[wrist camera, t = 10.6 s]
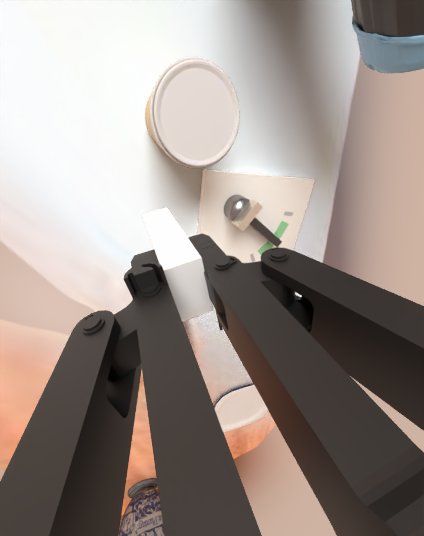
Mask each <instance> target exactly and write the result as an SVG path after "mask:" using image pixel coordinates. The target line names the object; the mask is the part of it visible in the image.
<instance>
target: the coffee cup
mask: <svg viewBox="0 0 424 536" xmlns="http://www.w3.org/2000/svg"><path fill="white" fill-rule="evenodd" d="M239 119H240V111H239V103H238V99H237V95H236V92H235V90H234V87H233V85H232V83H231V82H230V80H229V78H228V77H227V76H226V74H225V73H224V72H223V71H222V70H221V69H220V68H219V67H218V66H217V65H215V64H214V63H212V62H210V61H208V60H206V59H203V58H198V57H189V58H183V59H180V60H178V61H175V62H174V63H172V64H171V65H169V66H168V67H167V68H166V69H165V70H164V71H163V72H162V73H161V75H160V76H159V78H158V80H157V81H156V83H155V86H154V88H153V91H152V93H151V95H150V97H149V99H148V102H147V105H146V110H145V120H146V125H147V129H148V131H149V133H150V135H151V137H152V138H153V140H154V141H155V142H156V143H157V144H158V145H159V146H160V147H161V148H162V149H163V151H164V152H165V153H166V154H167V155H168V156H169V157H170V158H171V159H172V160H174V161H175V162H176V163H178V164H180V165H183V166H185V167H189V168H204V167H208V166H211V165H213V164H215V163H217V162H218V161H219V160H221V159H222V158H223V157H224V156H225V155H226V154H227V152H228V151H229V150H230V148H231V147H232V145H233V143H234V140H235V138H236V135H237V132H238V127H239Z"/></svg>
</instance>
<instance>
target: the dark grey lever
mask: <svg viewBox="0 0 424 536" xmlns="http://www.w3.org/2000/svg"><path fill="white" fill-rule="evenodd" d="M262 208H263V207H262V206H261V205H260V204H259V203H258V202H257V201H255V200H253V199H250V200H249V199H247V198H245V197H243V196H241V195H233V196H231V197H229V198H228V199H227V201H226V202H225V205H224V213H225V215H226V217H227V218H229V219H230V220H231V221H232V223H233V224H234V225H236V226H237V227H238V228H239V229H241V230H242V231H244V230H245V229H246V228H247V226H248V225H250V226H251V227H253V228H254V229H255V230H256V231H257V232H258V233H260V234H261V235H262V236H263V237H264V238H266V239H267V240H268V241H269V242H270V243H272V244H273V245H275V246H276V247H278V246H279V245H280V244H281V243H282V241H281V240H280V239H279V238H278V237H276V236H275V235H274V234H273V233H272V232H271V231H270V230H269V229H268V228H266V227H265V226H264V225H263V224H262V223H261V222H260V221H259V220H258V219H256V218H255V216H256V215H257V214H258V213H259V212H260V210H261V209H262Z"/></svg>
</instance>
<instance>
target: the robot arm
mask: <svg viewBox="0 0 424 536" xmlns="http://www.w3.org/2000/svg"><path fill="white" fill-rule="evenodd" d="M351 2H352V10H353V19H352V24H353V29H354V30H355V32H356V34H357V38H358V43H359V48H360V54H361V58H362V60H363V62H364V64H365V65H366V66H367V67H369V68H370V69H373V70H376V71H378V72H381V73H403V72H410V71H415V70H420V69H423V68H424V0H351ZM142 216H143V219H144V221H145V224H146V227H147V230H148V233H149V236H150V238H151V241H152V244H153V247H154V250H151V251H148V252H145V253H141V254H138V255H135V256H134V257H133V259H132V261H131V266H132V268H131V269H130V270H128V271H127V273H126V274H125V276H124V281H125V283H126V285H127V287H128V289H129V291H130V293H131V295H132V297H133V301H132V302H131V303H130V304H129V305H128V306H127V307H126V308H124V309H123V310H121V311H119V312H118V313H116V314H114V315H113V314H112V312H110V311H106V310H105V311H97V312H94V313H91V314H90V315H88V316H87V317H85V318H83V319H82V320H81V321H80V322H79V323H78V324H77V325H76V326H75V328H74V329H73V331H72V333H71V335H70V337H69V339H68V341H67V343H66V346H65V348H64V350H63V352H62V354H61V356H60V358H59V360H58V362H57V364H56V366H55V369H54V371H53V373H52V375H51V377H50V379H49V381H48V383H47V385H46V387H45V389H44V392H43V394H42V396H41V398H40V400H39V402H38V404H37V406H36V408H35V410H34V412H33V414H32V417H31V419H30V421H29V423H28V425H27V427H26V429H25V431H24V433H23V435H22V437H21V440H20V442H19V444H18V446H17V448H16V450H15V452H14V454H13V456H12V458H11V460H10V463H9V465H8V467H7V469H6V471H5V473H4V475H3V477H2V480H1V481H0V536H118V534H119V527H120V520H121V513H122V505H123V498H124V491H125V484H126V477H127V469H128V462H129V455H130V448H131V441H132V434H133V426H134V419H135V412H136V405H137V398H138V390H139V383H140V376H141V369H142V372H143V379H144V387H145V394H146V402H147V409H148V417H149V424H150V431H151V439H152V446H153V454H154V461H155V469H156V476H157V484H158V491H159V498H160V506H161V513H162V521H163V528H164V536H261V533H260V530H259V527H258V525H257V522H256V519H255V517H254V514H253V511H252V509H251V506H250V503H249V501H248V498H247V495H246V493H245V490H244V487H243V484H242V482H241V479H240V476H239V474H238V471H237V468H236V466H235V463H234V460H233V457H232V455H231V452H230V449H229V447H228V444H227V441H226V439H225V436H224V433H223V430H222V428H221V425H220V422H219V420H218V417H217V414H216V412H215V409H214V406H213V403H212V401H211V398H210V395H209V393H208V390H207V387H206V385H205V382H204V379H203V376H202V374H201V371H200V368H199V366H198V363H197V360H196V358H195V355H194V352H193V350H192V347H191V344H190V341H189V339H188V336H187V333H186V331H185V328H184V325H183V323H182V322H184V321H187V320H189V319H192V318H194V317H197V316H199V315H202V314H204V313H207V312H209V311H212V310H213V306H212V304H213V305H214V307H215V309H216V314H217V318H218V323H219V327H220V330H222V327H223V329H224V331H225V332H226V334H227V336H228V338H229V340H230V342H231V343H232V345H233V347H234V349H235V351H236V352H237V354H238V356H239V358H240V360H241V361H242V363H243V365H244V367H245V369H246V370H247V372H248V374H249V376H250V378H251V380H252V381H253V383H254V385H255V387H256V389H257V390H258V392H259V394H260V396H261V398H262V399H263V401H264V403H265V405H266V407H267V409H268V410H269V412H270V414H271V416H272V418H273V419H274V421H275V423H276V425H277V427H278V428H279V430H280V432H281V434H282V436H283V437H284V439H285V441H286V443H287V445H288V447H289V448H290V450H291V452H292V454H293V456H294V457H295V459H296V461H297V463H298V465H299V466H300V468H301V470H302V472H303V474H304V476H305V477H306V479H307V481H308V483H309V485H310V486H311V488H312V490H313V492H314V494H315V495H316V497H317V499H318V501H319V503H320V504H321V506H322V508H323V510H324V511H325V513H326V515H327V517H328V519H329V521H330V523H331V525H332V526H333V528H334V531H335V533H336V535H337V536H424V452H422V450H421V449H419V448H418V447H417V446H416V445H415V444H414V443H413V442H412V441H411V440H410V439H409V438H408V436H407V435H406V434H405V433H404V432H403V431H402V430H401V429H400V428H399V427H398V426H397V425H396V424H395V423H394V422H393V421H392V420H391V419H390V418H389V417H388V415H387V414H386V413H385V412H384V411H383V410H382V409H381V408H380V407H379V406H378V405H377V404H376V403H375V402H374V401H373V400H372V399H371V398H370V397H369V396H368V394H366V392H365V391H364V390H363V389H362V388H361V387H360V386H359V385H358V384H357V383H356V382H355V381H354V380H353V379H352V378H354V379H355V380H356V381H358V382H359V383H360V384H362V385H363V386H364V387H366V388H367V389H369V390H370V391H371V392H373V393H374V394H375V395H377V396H378V397H379V398H381V399H382V400H383V401H385V402H386V403H387V404H389V405H390V406H391V407H393V408H394V409H395V410H397V411H398V412H399V413H401V414H402V415H404V416H405V417H406V418H407V419H409V420H410V421H411V422H413V423H414V424H415V425H417V426H418V427H420V428H421V429H423V430H424V306H422V305H420V304H417V303H415V302H413V301H410V300H408V299H406V298H403V297H401V296H398V295H396V294H394V293H392V292H389V291H387V290H384V289H382V288H380V287H377V286H375V285H373V284H370V283H368V282H366V281H363V280H361V279H359V278H356V277H354V276H352V275H349V274H347V273H345V272H342V271H340V270H337V269H335V268H333V267H330V266H328V265H326V264H323V263H321V262H319V261H316V260H314V259H312V258H309V257H307V256H305V255H302V254H300V253H298V252H295V251H293V250H290V249H287V248H279V247H276V248H271V249H268V250H266V251H264V252H263V253H262V255H261V261H258V262H251V263H242V262H241V261H240V260H239V259H238V258H236V257H234V256H230V255H226V254H225V253H224V252H223V251H222V250H221V248H220V247H219V246H218V245H217V244H216V243H215V242H214V241H213V240H212V238H211V237H210V236H208V235H205V234H203V233H202V234H198V235H195V236H192V237H189V238H188V237H187V236H186V234H185V233H184V231H183V230H182V229H181V227H180V226H179V224H178V223H177V221H176V220H175V218H174V217H173V216H172V214H171V213H170V211H169V210H168V208H167V207H166V208H162V209H159V210H155V211H152V212H148V213H145V214H142ZM295 292H297V293H298V294H300V295H302V297H298V296H296V295H295ZM141 364H142V367H141ZM349 375H350V376H351V377H352V378H351V377H350V376H349Z"/></svg>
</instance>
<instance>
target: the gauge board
mask: <svg viewBox="0 0 424 536" xmlns="http://www.w3.org/2000/svg"><path fill="white" fill-rule="evenodd" d="M314 183H315V180H314V179H310V178H299V177H287V176H275V175H263V174H251V173H239V172H227V171H215V170H203V175H202V185H201V196H200V207H199V218H198V229H197V235H198V234H202V233H203V234H205V235H208V236H210V237H211V238H212V240H213V241H214V242H215V243H216V244H217V245H218V246H219V247H220V248H221V250H222V251H223V252H224V253H225V254H226V255H230V256H234V257H236V258H238V259H239V260H240V261H241V262H242V263H251V262H258V261H261V255H262V253H263V252H264V251H266V250H268V249H271V248H276V246H275V245H273V244H272V243H270V242H269V241H268V240H267V239H266V238H264V237H263V236H262V235H261V234H260V233H258V232H257V231H256V230H255V229H254V228H253V227H251V226H250V225H248V226H247V228H246V229H245V230H244V231H242V230H241V229H239V228H238V227H237V226H236V225H234V224H233V223H232V221H231V220H230V219H229V218H227V217H226V215H225V213H224V205H225V202H226V201H227V199H228V198H229V197H231V196H233V195H241V196H243V197H245V198H247V199H249V200H250V199H253V200H255V201H257V202H258V203H259V204H260V205H261V206H262V207H263V208H262V209H261V210H260V212H259V213H258V214H257V215H256V216H255V218H256V219H258V220H259V221H260V222H261V223H262V224H263V225H264V226H265V227H266V228H268V229H269V230H270V231H271V232H272V233H273V234H274V235H275V236H276V237H278V238H279V239H280V240H281V241H282V243H281V244H280V245H279V246H278V247H279V248H287V249H290V250H293V249H294V246H295V243H296V240H297V236H298V233H299V230H300V227H301V224H302V221H303V217H304V214H305V211H306V208H307V205H308V202H309V198H310V195H311V192H312V189H313V186H314Z"/></svg>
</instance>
